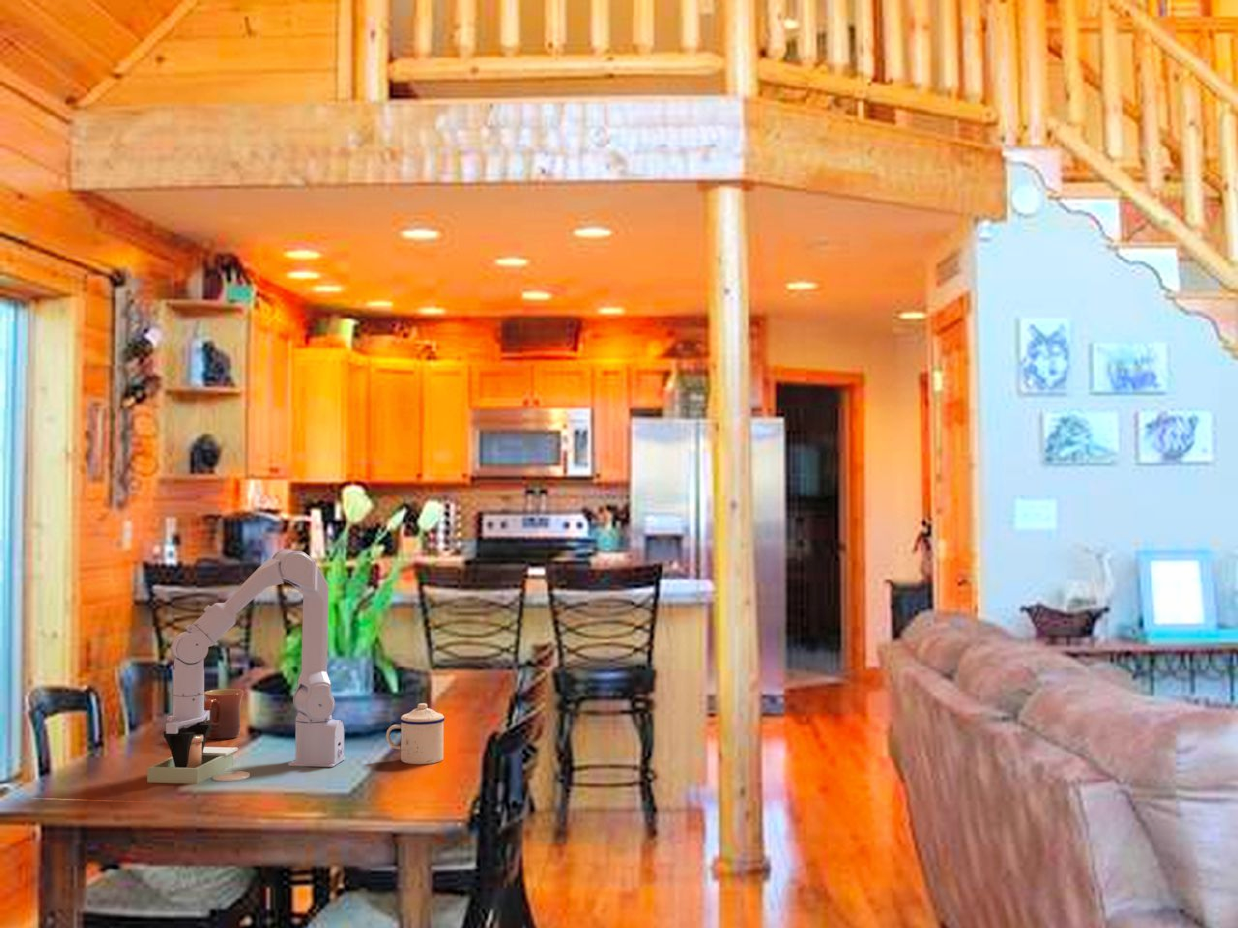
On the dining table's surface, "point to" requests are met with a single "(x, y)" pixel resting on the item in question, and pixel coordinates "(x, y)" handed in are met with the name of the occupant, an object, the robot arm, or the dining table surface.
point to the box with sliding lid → (211, 764)
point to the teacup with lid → (420, 736)
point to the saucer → (230, 776)
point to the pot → (195, 752)
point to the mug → (224, 713)
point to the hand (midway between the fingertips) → (188, 764)
